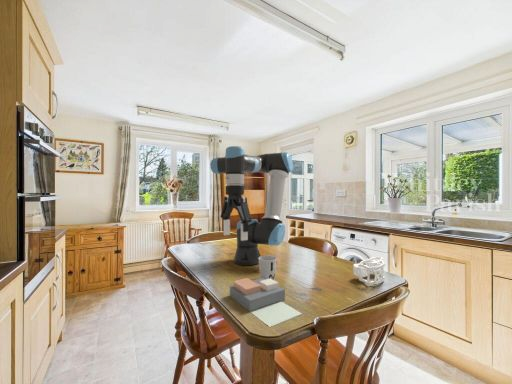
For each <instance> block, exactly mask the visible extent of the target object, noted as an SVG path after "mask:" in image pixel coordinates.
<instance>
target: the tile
mask: <svg viewBox="0 0 512 384" xmlns="http://www.w3.org/2000/svg"><path fill="white" fill-rule="evenodd" d="M252 280H253V279H250V278H248V277H245V278H241V279H237V280H233V285H234V287H235V288H236V289H238V290H239V291H241V292H242V293H244V294H245V295H249V294H252V293H256V292H259V291H260V285H259V284H257V283H255V282H253V281H252Z"/></svg>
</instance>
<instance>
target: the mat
mask: <svg viewBox="0 0 512 384" xmlns="http://www.w3.org/2000/svg"><path fill="white" fill-rule="evenodd" d="M250 313H251V314H253V315H254V316H255V317H256V318H257V319H258V320H260V321H261V322H262V323H264V324H265V325H266V326H267V325H268V326H267V327H268V328H272V327H274V325H275V326H277V325H279V324H283V323H286V322H288V321H290V320H293V319H295V318H298V317H301V316H302V315H303V313H302V312H300V311H298V310H297V309H295V308H294V307H292V306H290V305H288V304H286V302H284V301H282V302H279V303H276V304H273V305H270V306H267V307H263V308H260V309H257V310H254V311H251V312H250ZM271 326H272V327H271Z"/></svg>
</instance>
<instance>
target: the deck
mask: <svg viewBox="0 0 512 384" xmlns="http://www.w3.org/2000/svg"><path fill="white" fill-rule="evenodd" d="M251 280H252V281H253V282H255V283H257V284H259V281H262V280H265V279H264V278H261V277H260V278H256V279H251ZM229 296H230V297H231V298H232V299H234V300H235V301H236V302H237V303H239V304H240V305H241V306H242V307H244V308H245V310H247V311H248V312H250V313H251V312H253V311H256V310H259V309H262V308H264V307H267V306H270V305H273V304H276V303H279V302H285V300H286V289H284V288H283V287H280V286H279V285H278V288H276V289H273V290H270V291H266V290H265V289H263V288H261V287H260V291H259V292H256V293H252V294H249V295H245V294H244V293H242V292H241V291H239V290H238V289H236V288H235V287H234V284H232V285H230V286H229Z"/></svg>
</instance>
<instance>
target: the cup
mask: <svg viewBox="0 0 512 384" xmlns="http://www.w3.org/2000/svg"><path fill="white" fill-rule="evenodd" d="M258 259H259V263H258V269H259V270H258V271H259V275H260V278H264V279H265V280H266V279H269V278H270V279H272V280H274V281H275V277H276V272H277V271H276V270H277V260H278V259H277V257H276V256H274V255H260V257H259V258H258Z"/></svg>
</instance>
